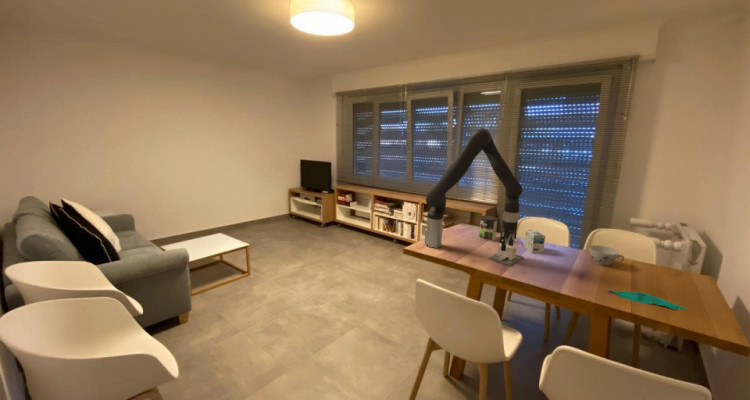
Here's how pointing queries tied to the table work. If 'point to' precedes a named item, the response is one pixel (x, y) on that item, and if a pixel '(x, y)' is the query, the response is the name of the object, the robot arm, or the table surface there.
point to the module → (507, 252)
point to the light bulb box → (534, 241)
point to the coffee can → (488, 228)
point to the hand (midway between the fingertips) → (506, 248)
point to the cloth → (646, 299)
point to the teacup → (604, 255)
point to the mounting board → (506, 260)
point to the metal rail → (502, 258)
